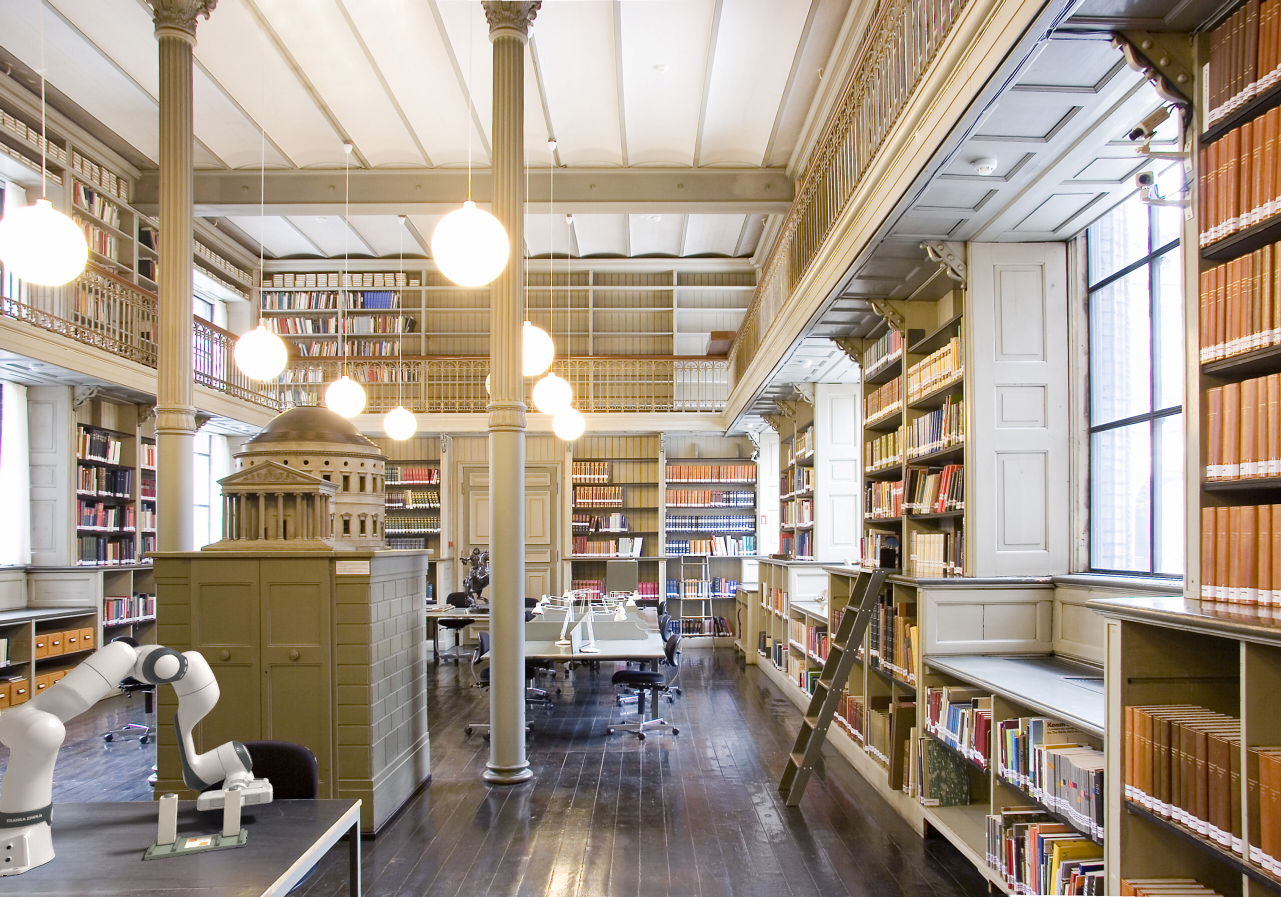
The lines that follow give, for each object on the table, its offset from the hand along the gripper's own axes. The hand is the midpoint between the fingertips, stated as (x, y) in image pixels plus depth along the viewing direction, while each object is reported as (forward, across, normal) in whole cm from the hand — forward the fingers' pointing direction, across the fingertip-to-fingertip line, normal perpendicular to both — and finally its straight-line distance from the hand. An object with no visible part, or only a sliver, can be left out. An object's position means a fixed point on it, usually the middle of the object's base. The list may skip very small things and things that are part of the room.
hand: (234, 805), depth 241 cm
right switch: (+6, 0, +6) cm, 8 cm away
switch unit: (+9, -8, +7) cm, 14 cm away
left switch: (+6, -16, +6) cm, 18 cm away
